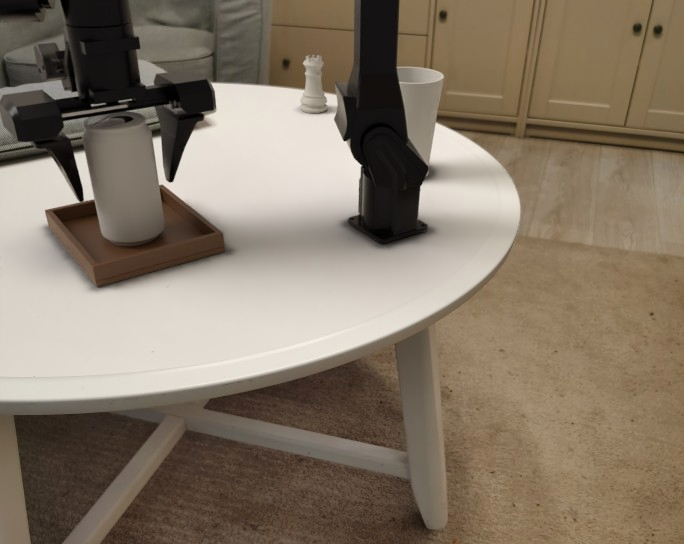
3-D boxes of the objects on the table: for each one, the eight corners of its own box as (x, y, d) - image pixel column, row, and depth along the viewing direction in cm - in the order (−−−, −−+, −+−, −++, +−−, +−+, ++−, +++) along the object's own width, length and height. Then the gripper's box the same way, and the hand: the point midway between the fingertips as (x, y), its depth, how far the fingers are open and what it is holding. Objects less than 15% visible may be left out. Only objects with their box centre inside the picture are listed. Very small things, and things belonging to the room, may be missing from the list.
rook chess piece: (297, 112, 111) (295, 59, 107) (303, 104, 115) (302, 52, 111) (325, 114, 111) (325, 60, 106) (330, 106, 115) (330, 54, 110)
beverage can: (178, 231, 74) (163, 116, 67) (133, 255, 70) (112, 134, 63) (135, 216, 77) (116, 105, 70) (88, 238, 72) (64, 121, 66)
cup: (431, 185, 87) (441, 85, 80) (368, 180, 88) (371, 80, 82) (437, 163, 94) (446, 68, 87) (378, 158, 95) (382, 64, 88)
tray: (225, 251, 72) (223, 232, 71) (96, 287, 66) (92, 267, 64) (164, 201, 82) (162, 184, 81) (48, 228, 76) (44, 209, 75)
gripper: (162, -1, 72) (179, 150, 81) (-36, 16, 63) (8, 183, 72) (211, 17, 64) (224, 181, 73) (-6, 39, 55) (39, 223, 64)
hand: (126, 190), depth 71 cm, fingers open, 9 cm apart
